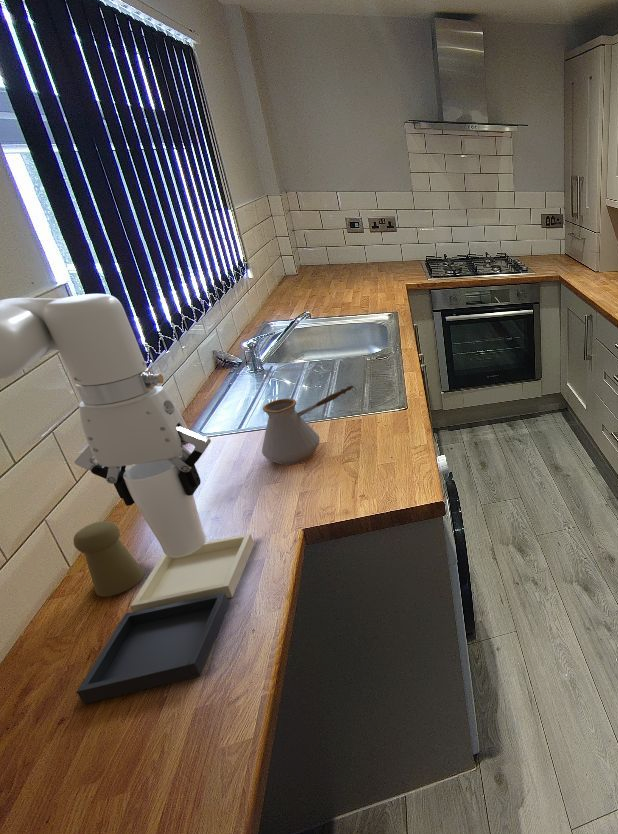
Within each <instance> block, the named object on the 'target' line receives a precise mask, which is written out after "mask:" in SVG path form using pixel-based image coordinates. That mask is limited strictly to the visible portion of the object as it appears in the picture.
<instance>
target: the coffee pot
mask: <svg viewBox="0 0 618 834" xmlns="http://www.w3.org/2000/svg"><path fill="white" fill-rule="evenodd" d="M351 390H352V392H353V393H354V394H358V390H357V389H356V387H355V386H354V385H349V386H347V387H345V388H341V389H340V390H339V391H336V392H334V393H330V394H329V395H327V396H326V397H325V398H322V399H321V400H319V401H318V402H316V403H315V404H312V405H310V406H308V407H307V408H304V409H303V410H301V411H298V412H297V410H296V405H297V401H296V399H293V398H280V399H276V400H272V401H269V402H267V403H266V404H265V405H263V407H262V411H263V412H264V413H266V414H267V416H268V417H267V422H266V428H265V432H264V436H263V437H264V439H263V441H262V442H263V443H262V447H261V454H262V456H263V457H264V458H266V459H267V461H268V460H269V461H270V462H273V463H276V464H278V465H293V464H297V463H300V462H302V461H305V460H306V459H308V458H310V457H311V456H312V455H313V454H314V452H315V451H316V450H317V448H318V447H319V444H320V436H319V435H318V433H317V432H316V431H315V430H314V429H313V428H312V426H311V425H310V424H309V423H308V422H307V421H306V420H305V419H304V418H303V417H302V416H304V415H306V414H307V413H309V412H311V411H312V410H314V409H316V408H319V407H321V406H323V405H326V404H327V403H330V402H331V401H334V400H335V399H337V398H338V397H340V396H341V395H345V394H346V392H348V391H351Z"/></svg>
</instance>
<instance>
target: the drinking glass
mask: <svg viewBox="0 0 618 834" xmlns="http://www.w3.org/2000/svg"><path fill="white" fill-rule="evenodd" d="M180 471H181V470H180V469H178V468H177V467H176V466H175V465H173V464H172V463H171V462H170V461H168V460H161V461H154V462H147V463H141V464H134V465H130V467H127V469H126V471H125V472H124V474H123V478H124V481H125V483H126V486H127V488H128V491H129V493H130V495H131V497H132V499H133V501H134V504H135V506H136V508H137V509H138V511H139V512H140V514H141V516H142V517H143V519H144V520H145V522H146V524H147V525H148V527H149V529H150V530H151V532H152V533H153V535H154V537H155V538H156V540H157V541H158V543H159V545H160V547H161V549H162V551H163V553H165V554H166V555H167V556H169V557H182V556H186V555H188V554H191V553H193V552H195V551H196V550H198V549H199V548H200V547H202V545H203V544H204V543H205V542H206V540H207V536H206V533H205V530H204V528H203V525H202V521H201V518H200V514H199V510H198V507H197V503H196V499H195V496H194V494H193V495H190V496H188V495H186V493H185V491H184V489H183V486H182V484H181V481H180V479H179V477H178V474H179V472H180Z"/></svg>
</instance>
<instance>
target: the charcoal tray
mask: <svg viewBox="0 0 618 834" xmlns="http://www.w3.org/2000/svg"><path fill="white" fill-rule="evenodd" d="M229 607H230V602H229V598H227V596H226V594H225V593H221V594H216V595H211V596H207V597H202V598H197V599H192V600H188V601H183V602H178V603H173V604H169V605H164V606H159V607H155V608H150V609H145V610H140V611H136V612H133V611H131V612H127V613H125V614H124V615H123V617H122V618H121V620H120V622H119V623H118V624H117V626H116V627H115V629H114V631H113V632H112V635H111V636H110V637H109V638H108V640H107V642H106V644H105V645H104V647H103V649H102V650H101V652H100V653H99V655H98V656H97V658H96V660H95V661H94V663H93V665H92V666H91V668H90V669H89V671H88V672H87V674H86V676H85V678H84V679H83V681H81V683H80V685H79V687H78V689H77V690H76V694H77V695H78V697H79V699H80V700H81V702H82V703H83V705H88V704H92V703H96V702H100V701H104V700H108V699H112V698H116V697H120V696H124V695H128V694H132V693H136V692H141V691H144V690H149V689H153V688H156V687H161V686H164V685H169V684H173V683H176V682H181V681H186V680H189V679H193V678H198V677H200V676H201V675H202V673H203V670H204V667H205V666H206V663H207V660H208V658H209V655H210V653H211V651H212V648H213V646H214V643H215V641H216V639H217V636H218V634H219V632H220V629H221V626H222V624H223V622H224V618H225V617H226V614H227V612H228V609H229Z"/></svg>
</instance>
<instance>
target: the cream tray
mask: <svg viewBox="0 0 618 834" xmlns="http://www.w3.org/2000/svg"><path fill="white" fill-rule="evenodd" d="M253 539H254V538H253V537H252V534H251V533H245V534H241V535H234V536H229V537H224V538H219V539H214V540H213V539H212V540H209V541H208V540H207V541H205V543H204V544H203V545H202V547H200V548H199V549H198V550H196V551H195V552H193V553H191V554H188V555H186V556H182V557H169V556H167V555H166V554H165V553H164V552H163V553H162V554H161V556H160V557H159V559H158V560H157V562H156V564H155V565H154V567H153V569H152V570H151V571H150V573H149V575H148V576H147V578H146V580H145V581H144V583H143V585H142V586H141V587H140V589H139V591H138V593H137V594H136V595H135V597H134V598H133V601H132V602H131V604H130V605H129V607H130V609H131V612H136V611H140V610H145V609H150V608H155V607H159V606H164V605H169V604H173V603H178V602H183V601H188V600H192V599H197V598H202V597H207V596H211V595H216V594H221V593H225V594H226V596H227V599H230V598H233V597H234V594H235V592H236V591H237V588H238V585H239V583H240V581H241V578H242V575H243V574H244V571H245V568H246V566H247V563H248V561H249V559H250V556H251V553H252V551H253V549H254V546H255V542H254V540H253Z"/></svg>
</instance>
